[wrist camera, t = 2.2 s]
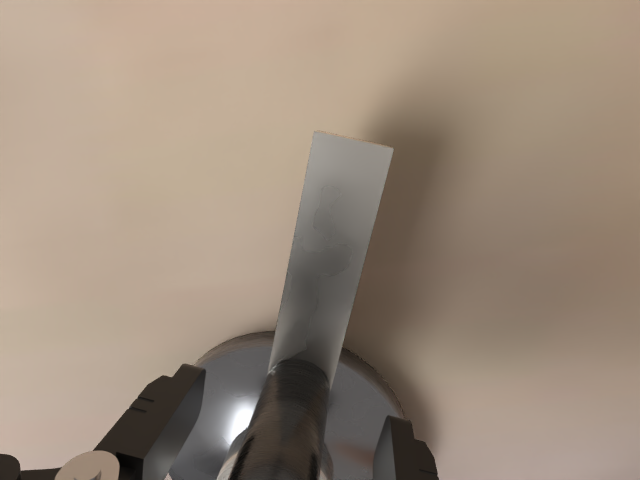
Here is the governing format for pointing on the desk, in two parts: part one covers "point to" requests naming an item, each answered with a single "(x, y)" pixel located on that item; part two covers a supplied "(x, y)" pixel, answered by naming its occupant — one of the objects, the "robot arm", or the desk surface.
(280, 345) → the crank
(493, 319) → the desk surface
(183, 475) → the crank base
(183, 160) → the desk surface
